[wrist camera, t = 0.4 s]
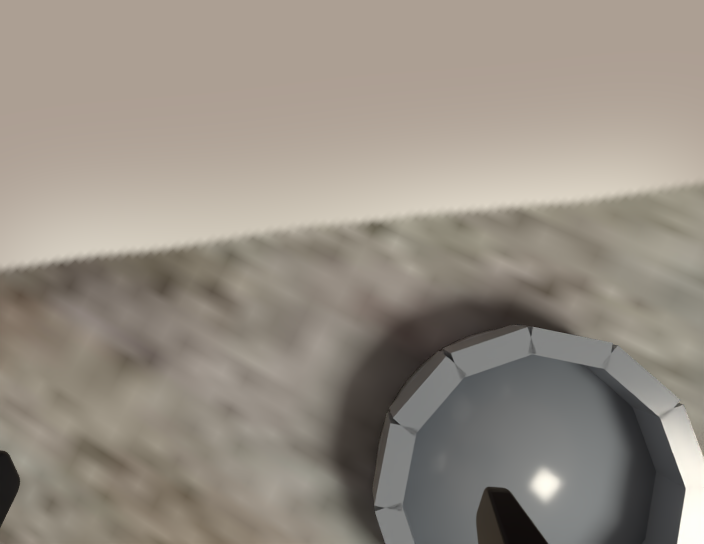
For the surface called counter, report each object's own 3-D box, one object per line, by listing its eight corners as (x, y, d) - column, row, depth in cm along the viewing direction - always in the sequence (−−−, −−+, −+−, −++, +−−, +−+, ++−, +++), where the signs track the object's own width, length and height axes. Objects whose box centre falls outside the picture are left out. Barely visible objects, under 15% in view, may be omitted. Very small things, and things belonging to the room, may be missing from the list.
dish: (705, 565, 23) (757, 605, 20) (430, 662, 23) (442, 718, 20) (604, 289, 24) (641, 288, 21) (337, 380, 24) (335, 392, 21)
